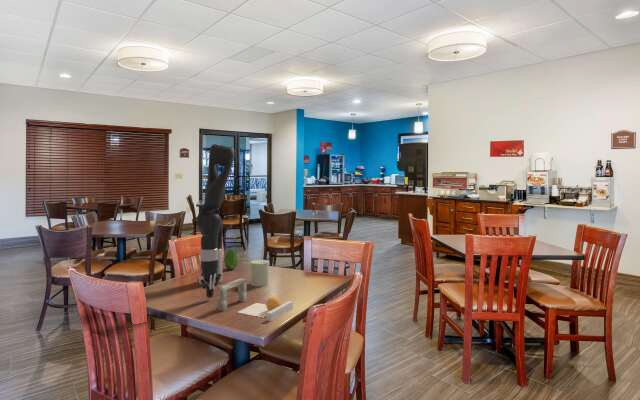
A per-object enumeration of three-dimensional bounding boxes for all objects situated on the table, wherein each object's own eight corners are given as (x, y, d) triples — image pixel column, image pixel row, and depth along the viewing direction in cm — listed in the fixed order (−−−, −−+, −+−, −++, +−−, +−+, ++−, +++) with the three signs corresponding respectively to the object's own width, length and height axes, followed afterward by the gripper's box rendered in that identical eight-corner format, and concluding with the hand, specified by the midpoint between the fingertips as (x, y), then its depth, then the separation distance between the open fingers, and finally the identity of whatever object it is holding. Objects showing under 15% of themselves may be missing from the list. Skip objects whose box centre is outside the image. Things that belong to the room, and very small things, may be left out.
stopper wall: (266, 320, 149) (266, 312, 149) (288, 307, 164) (288, 300, 163) (270, 321, 148) (270, 313, 148) (292, 308, 163) (292, 301, 162)
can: (265, 287, 194) (265, 263, 193) (248, 285, 196) (248, 262, 195) (271, 282, 203) (271, 259, 202) (255, 281, 205) (254, 258, 204)
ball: (270, 317, 156) (260, 306, 158) (278, 312, 162) (268, 302, 163) (278, 306, 154) (268, 296, 156) (286, 302, 160) (275, 292, 161)
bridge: (218, 309, 161) (218, 286, 160) (241, 299, 174) (241, 278, 174) (223, 310, 160) (223, 287, 159) (246, 300, 173) (246, 279, 172)
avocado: (233, 271, 226) (233, 250, 225) (221, 270, 228) (221, 249, 228) (240, 268, 233) (240, 248, 233) (229, 267, 236) (228, 247, 235)
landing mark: (237, 312, 158) (237, 312, 158) (256, 303, 169) (256, 302, 169) (263, 318, 152) (263, 317, 152) (281, 308, 163) (281, 307, 163)
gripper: (213, 255, 179) (213, 292, 180) (191, 260, 168) (192, 300, 169) (226, 256, 176) (226, 294, 177) (205, 262, 164) (205, 302, 165)
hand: (210, 297), depth 173 cm, fingers closed
